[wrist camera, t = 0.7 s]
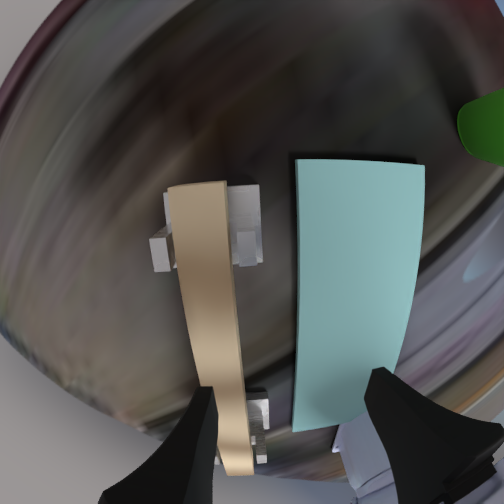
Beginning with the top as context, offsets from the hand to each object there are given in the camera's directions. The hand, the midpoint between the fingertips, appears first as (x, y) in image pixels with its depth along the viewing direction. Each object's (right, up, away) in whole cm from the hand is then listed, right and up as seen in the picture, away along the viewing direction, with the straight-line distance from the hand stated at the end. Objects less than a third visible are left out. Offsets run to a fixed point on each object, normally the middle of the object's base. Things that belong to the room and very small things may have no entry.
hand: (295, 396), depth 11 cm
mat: (+7, 0, +10) cm, 12 cm away
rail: (-4, -2, +6) cm, 7 cm away
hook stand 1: (-4, +8, +7) cm, 12 cm away
